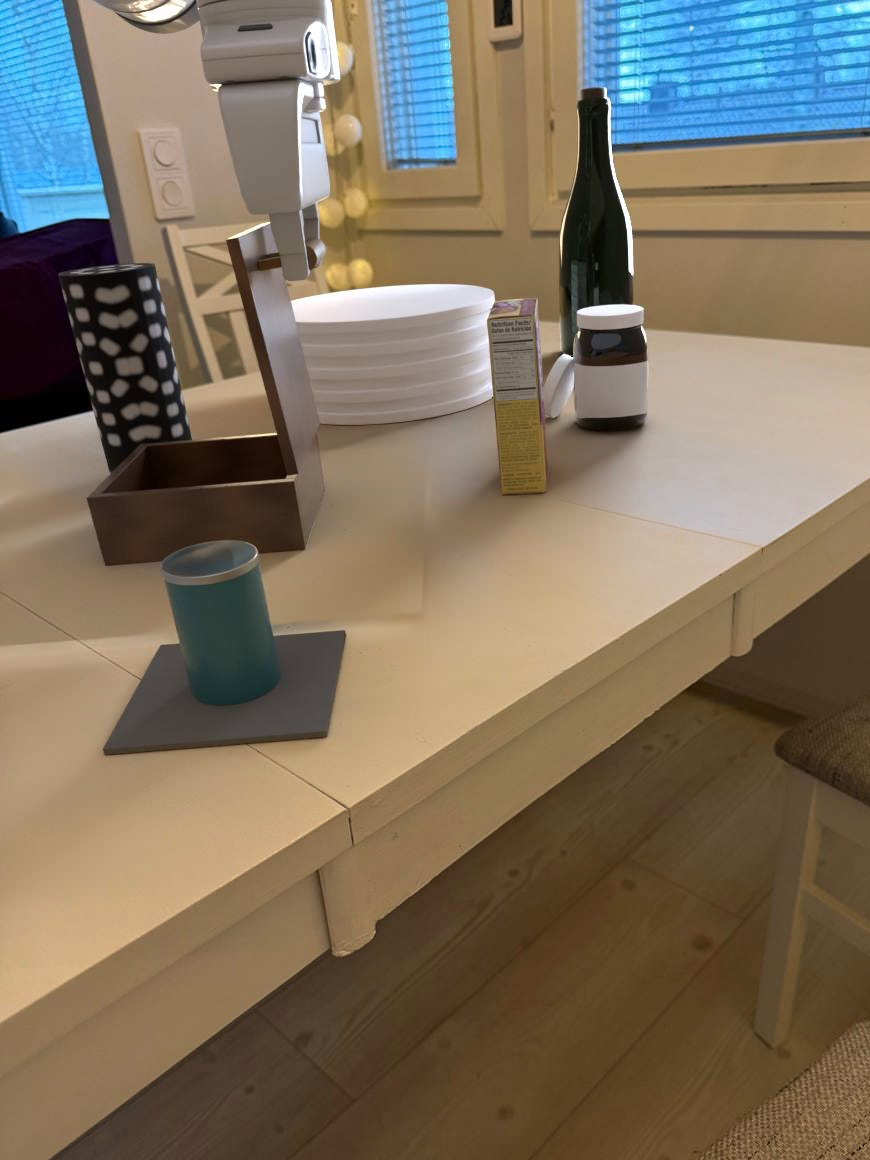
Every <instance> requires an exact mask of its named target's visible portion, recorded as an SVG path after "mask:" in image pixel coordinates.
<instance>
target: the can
mask: <svg viewBox="0 0 870 1160" xmlns="http://www.w3.org/2000/svg"><path fill="white" fill-rule="evenodd" d="M259 555H260V554H258V550H257V548H256V547H255V546H254V545H252V544H250V543H247V542H242V541H233V540H223V541H212V542H205V543H200V544H196V545H192V546H189V547H186V548H183V549H181V550H178V551H176V552H174V553H172V554H171V555H169V556H168V557H166V558H165V559H164V560H163V561H162V562H160V564H159V565H160V566H159V569H160V572H161V576H162V578H163V582H164V585H165V586H164V587H165V589H166V590H165V591H166V593H167V599H168V602H169V606H170V610H171V613H172V619H173V622H174V626H175V630H176V635H177V638H178V643H180V647H181V651H182V655H183V659H184V663H185V667H186V671H187V675H188V679H189V683H190V687H191V691H192V694H193V696H194V697H195V698H196V699H197V700H198V701H200V702H202V703H206V704H210V705H234V704H239V703H244V702H247V701H251V700H253V699H256V698H258V697H260V696H263V695H264V694H266V693H268V692H269V691H271V690H272V689H273V688H274V687H275V686H276V685H277V684H278V682H279V680H280V676H281V674H280V668H279V663H278V658H277V653H276V648H275V643H274V637H273V636H274V632H273V627H272V623H271V616H270V611H269V608H268V602H267V597H266V592H265V586H264V581H263V576H262V571H261V566H260V561H259V560H260V556H259Z"/></svg>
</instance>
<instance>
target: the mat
mask: <svg viewBox="0 0 870 1160" xmlns="http://www.w3.org/2000/svg"><path fill="white" fill-rule="evenodd" d="M273 637H274V643H275V648H276V653H277V658H278V663H279V668H280V674H281V676H280V680H279V682H278V684H277V685H276V686H275V687H274V688H273V689H272V690H271V691H269V692H268V693H266V694H264V695H263V696H260V697H258V698H256V699H253V700H251V701H247V702H244V703H239V704H234V705H210V704H206V703H202V702H200V701H198V700H197V699H196V698H195V697H194V696H193V694H192V691H191V687H190V683H189V679H188V675H187V671H186V667H185V663H184V659H183V655H182V651H181V647H180V643H179V642H178V643H165V644H160V645H159V646H158V648H157V650H156V652H155V654H154V656H153V658H152V659H151V661H150V662H149V665H148V666H147V668H146V670H145V672H144V674H143V676H142V678H141V679H140V681H139V683H138V685H137V686H136V688H135V690H134V692H133V694H132V695H131V697H130V699H129V700H128V703H127V704H126V706H125V708H124V710H123V711H122V714H121V715H120V717H119V718H118V720H117V722H116V724H115V726H114V727H113V729H112V731H111V733H110V735H109V737H108V738H107V740H106V742H105V744H104V745H103V747H102V751H103V755H104V756H107V755H120V754H132V753H144V752H158V751H169V750H180V749H181V750H182V749H193V748H205V747H207V748H208V747H218V746H229V745H241V744H242V745H243V744H254V743H255V744H256V743H267V742H269V743H270V742H279V741H281V742H282V741H290V740H291V741H292V740H293V741H294V740H305V739H316V738H326V737H328V733H329V727H330V722H331V721H330V720H331V717H332V711H333V706H334V699H335V695H336V690H337V686H338V685H337V684H338V679H339V674H340V669H341V664H342V663H341V662H342V658H343V653H344V652H343V651H344V647H345V641H346V637H347V633H346V630H345V629H340V630H328V631H327V630H325V631H317V632H304V633H303V632H302V633H290V634H278V635H273Z"/></svg>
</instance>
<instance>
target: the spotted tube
mask: <svg viewBox="0 0 870 1160" xmlns="http://www.w3.org/2000/svg"><path fill="white" fill-rule="evenodd" d="M57 277H58V280H59V284H60V287H61V291H62V294H63V299H64V303H65V306H66V311H67V315H68V319H69V322H70V326H71V329H72V333H73V339H74V342H75V345H76V349H77V353H78V358H79V361H80V365H81V368H82V372H83V376H84V381H85V384H86V389H87V392H88V395H89V399H90V404H91V407H92V412H93V416H94V419H95V423H96V426H97V430H98V434H99V438H100V442H101V446H102V449H103V453H104V457H105V461H106V466H107V469H108V472H109V475H110V474H111V473H112V472H113V471H114V470H115V469H116V468H117V467H118V466H119V465H120V464H121V463H122V462H123V461H124V460H125V459H126V458H127V457H128V456H129V455H130V454H131V453H132V452H133V451H134V450H135V449H136V448H137V447H138V446H139V445H140V444H146V443H159V442H171V441H184V440H193V437H192V431H191V428H190V427H191V426H190V423H189V418H188V413H187V408H186V404H185V398H184V395H183V389H182V385H181V381H180V376H179V375H180V374H179V370H178V366H177V361H176V357H175V351H174V347H173V343H172V339H171V338H172V337H171V334H170V329H169V323H168V319H167V314H166V310H165V305H164V301H163V296H162V291H161V286H160V282H159V278H158V273H157V268H156V264H155V263H153V262H132V263H120V264H119V263H118V264H117V263H116V264H107V265H99V266H90V267H84V268H77V269H71V270H66V271H61V272H59V273H58V274H57Z"/></svg>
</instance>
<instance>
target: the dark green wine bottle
mask: <svg viewBox="0 0 870 1160" xmlns="http://www.w3.org/2000/svg"><path fill="white" fill-rule="evenodd" d="M579 96H580V98H579V100H577V102H576V108H575V109H576V110H575V112H576V118H577V119H576V121H577V139H576V140H577V145H576V159H575V161H576V162H575V168H574V169H575V170H574V175H573V180H572V183H571V186H570V191H569V194H568V197H567V201H566V204H565V207H564V210H563V214H562V217H561V222H560V228H559V238H558V307H559V309H558V312H559V315H558V316H559V317H558V318H559V319H558V320H559V347H560V351H561V353H563V354H566V355H569V356H573V346H574V339H575V336H576V333H577V331H578V329H579V328H578V326H577V311H578V310H580V309H583V308H588V307H593V306H601V305H635V304H634V255H633V254H634V252H633V234H632V233H633V232H632V226H631V225H632V224H631V220H630V215H629V212H628V210H627V207H626V203H625V200H624V198H623V194H622V192H621V189H620V186H619V182H618V180H617V177H616V172H615V167H614V163H613V162H614V161H613V153H612V141H611V139H612V138H611V110H612V106H611V105H612V104H611V99H610V98H609V97H607V88H606V87H604V86H593V87H592V86H591V87H586V88H581V89H580V92H579Z"/></svg>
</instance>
